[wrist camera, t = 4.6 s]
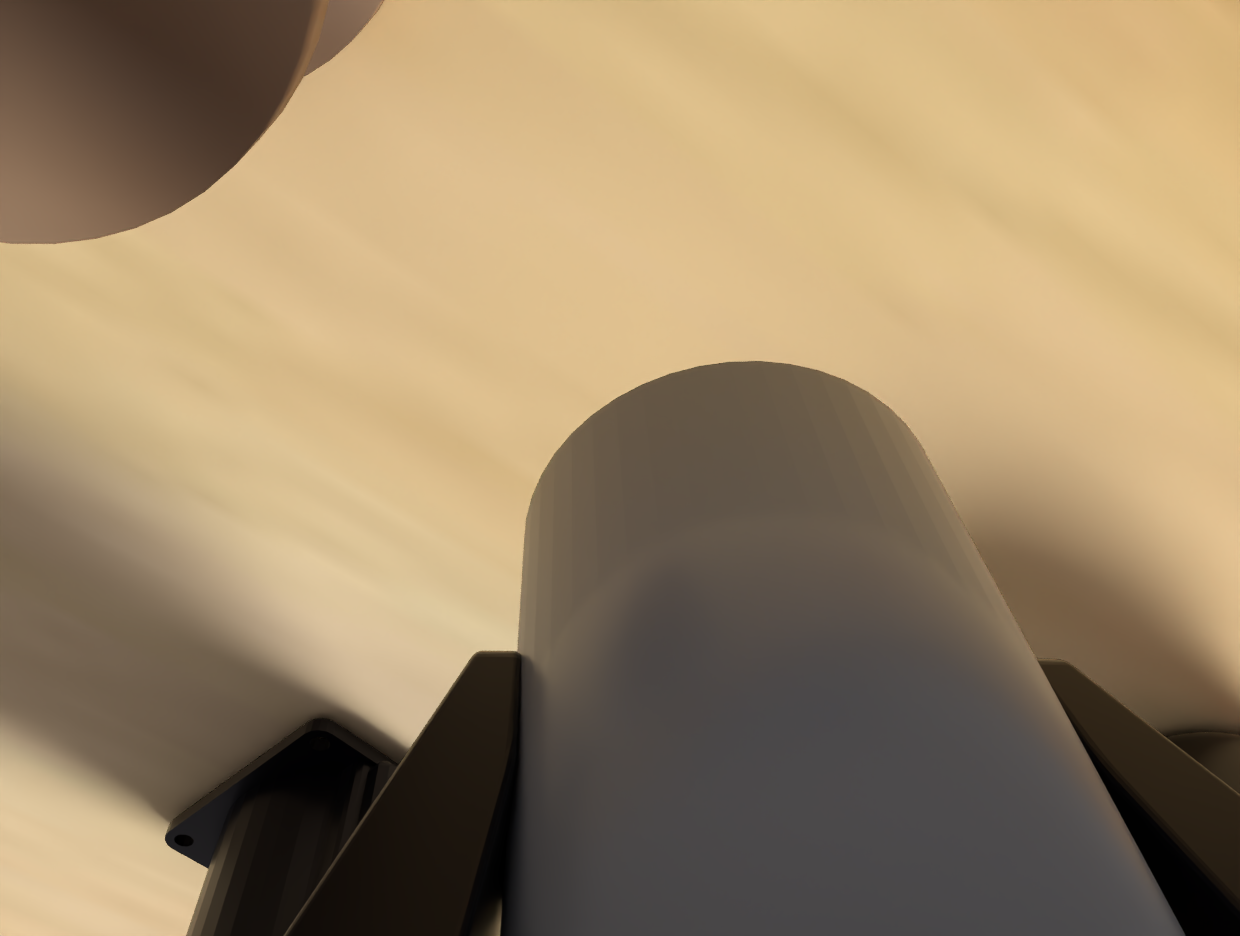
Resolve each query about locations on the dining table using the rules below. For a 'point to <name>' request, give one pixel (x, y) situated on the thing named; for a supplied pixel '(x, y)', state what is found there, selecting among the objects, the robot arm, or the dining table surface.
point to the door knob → (144, 101)
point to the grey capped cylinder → (787, 690)
